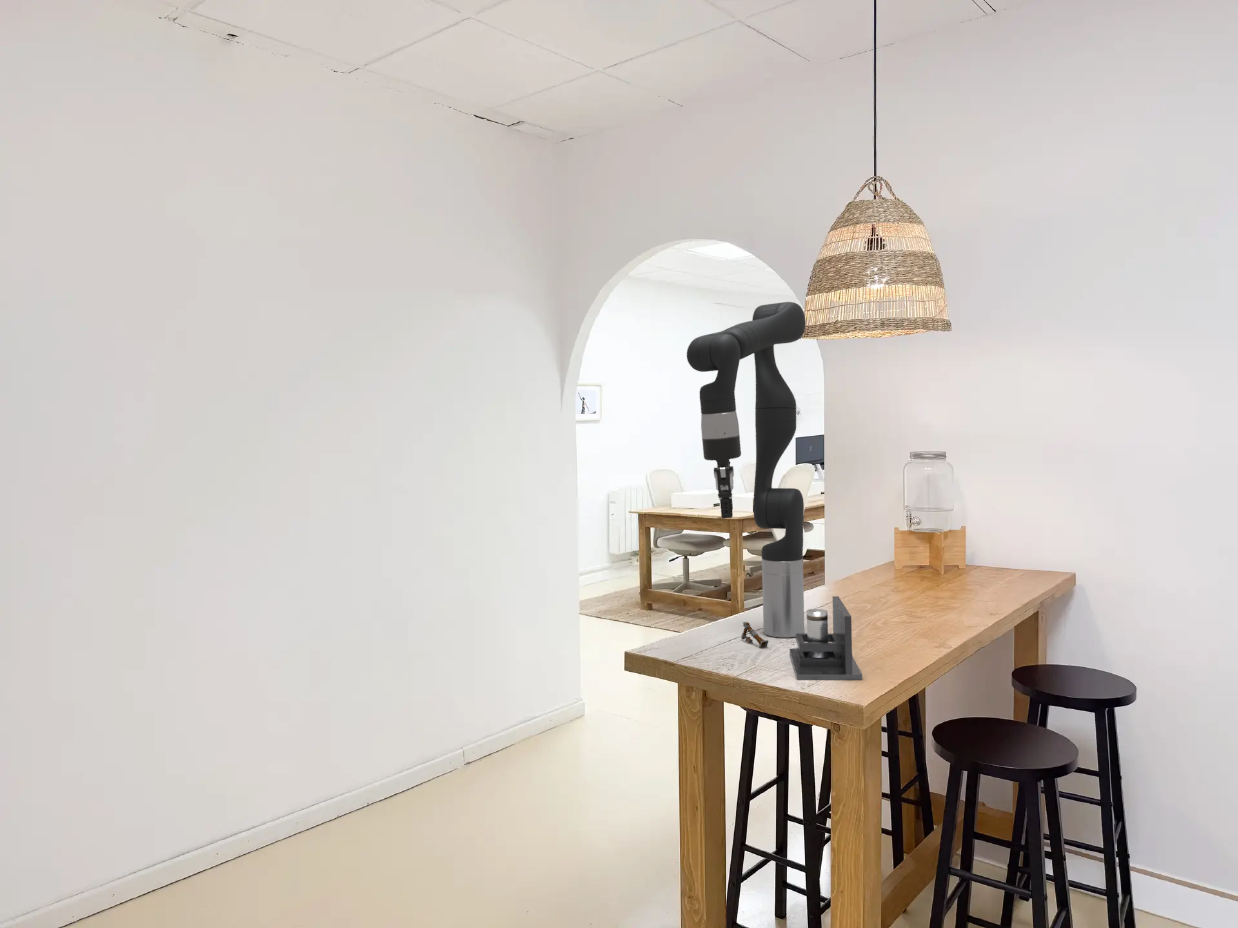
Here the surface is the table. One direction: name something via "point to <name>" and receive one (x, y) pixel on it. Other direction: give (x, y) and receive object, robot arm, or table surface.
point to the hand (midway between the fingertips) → (727, 514)
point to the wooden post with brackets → (753, 635)
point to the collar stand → (837, 646)
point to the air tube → (817, 630)
